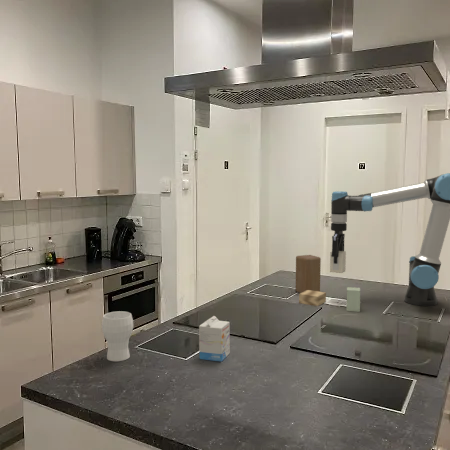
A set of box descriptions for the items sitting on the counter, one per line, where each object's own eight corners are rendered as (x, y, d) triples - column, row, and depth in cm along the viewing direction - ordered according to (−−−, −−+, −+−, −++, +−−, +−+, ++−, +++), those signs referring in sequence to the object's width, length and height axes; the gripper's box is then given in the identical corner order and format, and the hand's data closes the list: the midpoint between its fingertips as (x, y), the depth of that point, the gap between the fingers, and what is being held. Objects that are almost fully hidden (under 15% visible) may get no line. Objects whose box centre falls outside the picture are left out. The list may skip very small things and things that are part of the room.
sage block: (359, 308, 221) (360, 287, 220) (359, 311, 215) (360, 290, 214) (346, 307, 223) (347, 287, 222) (346, 310, 217) (346, 289, 216)
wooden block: (294, 291, 254) (295, 255, 252) (309, 289, 259) (310, 254, 257) (305, 295, 245) (305, 258, 243) (320, 293, 250) (321, 257, 248)
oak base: (325, 302, 233) (326, 292, 233) (317, 306, 225) (317, 296, 225) (307, 299, 239) (307, 289, 238) (299, 303, 231) (299, 293, 230)
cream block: (345, 271, 232) (345, 251, 231) (341, 273, 227) (342, 253, 226) (333, 270, 235) (334, 250, 234) (329, 272, 230) (330, 252, 229)
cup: (133, 362, 156) (132, 318, 155) (101, 364, 155) (99, 320, 153) (134, 350, 167) (133, 310, 165) (104, 352, 165) (102, 311, 163)
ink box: (221, 362, 156) (221, 323, 155) (198, 359, 159) (198, 321, 158) (230, 353, 164) (230, 316, 163) (208, 350, 167) (208, 314, 166)
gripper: (336, 220, 239) (335, 265, 241) (325, 223, 222) (324, 271, 225) (351, 221, 235) (350, 266, 237) (340, 224, 219) (339, 272, 221)
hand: (337, 268), depth 231 cm, fingers closed on cream block, 6 cm apart
